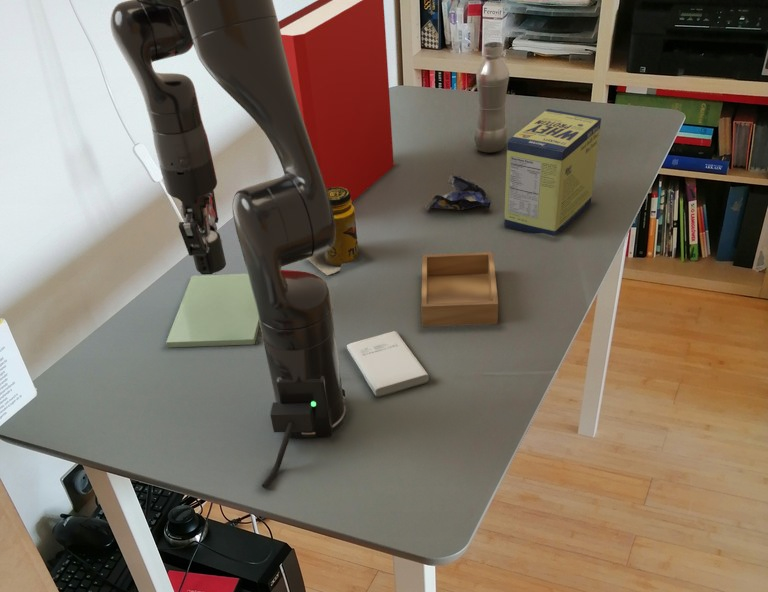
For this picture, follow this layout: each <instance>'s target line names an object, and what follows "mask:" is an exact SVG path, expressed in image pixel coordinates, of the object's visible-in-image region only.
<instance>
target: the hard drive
mask: <svg viewBox="0 0 768 592" xmlns="http://www.w3.org/2000/svg"><path fill="white" fill-rule="evenodd" d="M346 349H347V351H348V352H349V354H350V356H351V358H352V359H353V361H354V363H355V364H356V365H357V367H358V368H359V370H360V372H361V373H362V375H363V379H364V380H365V381H366V383H367V385H368V386H369V388H370V389H371V391H372V393H373V395H375V397H376V398H380V397H384V396H386V395H390V394H394V393H397V392H400V391H403V390H407V389H411V388H414V387H417V386H421V385H424V384H427V383H428V382H429V374H428V372H427V371H426V370H425V368H424V367H423V365H422V364H421V363H420V362H419V360H418V359H417V357H416V356H415V355H414V354H413V352H412V350H411V349H410V348H409V347H408V346H407V344H406V343H405V341H404V340H403V338H402V337H401V336H400V334H399V333H398V332H397V331H395V330H392V331H389V332H385V333H382V334H379V335H375V336H372V337H367V338H364V339H361V340H357V341H354V342H350V343H348V344H347V345H346Z"/></svg>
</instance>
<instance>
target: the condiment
mask: <svg viewBox="0 0 768 592" xmlns="http://www.w3.org/2000/svg"><path fill="white" fill-rule="evenodd" d="M327 193H328V196H329V199H330V202H331V206H332V210H333V214H334V220H335V227H336V238H335V242H334V245H333V246H332V248H331V249H330V250H328V251H326V252H323V253H321V254H318V255H315V256H312V257H309V258H306V259H305V260H307V261H308V262H309V263H310V264H311V265H313V266H314V267H315V268H316V269H318V270H319V271H320V272H321V273H323V274H325V275H326V276H330V275H332V274H335V273H337V272H340V271H341V268H342V264H346V263H350V262H352V261H354V260H355V259H357V257H358V256H359V244H358V243H359V242H358V241H359V240H358V234H357V222H356V213H355V206H354V205H353V204H352V203H353V201H351V194H350V191H349V190H347V189H346V188H343V187H331V188H327Z"/></svg>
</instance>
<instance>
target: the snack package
mask: <svg viewBox="0 0 768 592" xmlns="http://www.w3.org/2000/svg"><path fill="white" fill-rule="evenodd" d="M448 185H450V186H451V187H452V188H453V189H454V190H452V191H450V192H447V193H446V194H444V195H439V194H436V195H434V196H433V198H431V200H430V202H428V203H427V204H426V205H424V208H425V209H426V211H427V212H429V211H430V210H431V209H443V210H444V209H445V210H456V211H458V210H459V211H461V210H462V211H463V210H468V209H471V208H476V207H479V206H480V207H484V208H488V209H489V208H490V206H491V204H492V202H491V199H489V197H488V196H487V193H486V192H485V190H484V189H483V188H482V187H479V185H478V184H475V182H473V181H471V180H470V179H468V178H467V177H461V175H455V174H454V173H452V174H451V175H449V177H448ZM486 212H487V213H488V210H486Z"/></svg>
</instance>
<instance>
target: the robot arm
mask: <svg viewBox="0 0 768 592" xmlns="http://www.w3.org/2000/svg"><path fill="white" fill-rule="evenodd" d="M109 19H110V20H109V28H110V32H111V37H112V39H113V41H114V42H115V46H116V47H117V48H118V51H119V52H120V54H121V55H122V57H123V59H124V61H125V62H126V64H127V66H128V68H129V69H130V71H131V74H132V75H133V77H134V79H135V81H136V84H137V86H138V89H139V91H140V92H141V96H142V98H143V102H144V105H145V108H146V112H147V117H148V119H149V123H150V127H151V131H152V138H153V145H154V150H155V153H156V158H157V161H158V164H159V168H160V172H161V176H162V180H163V184H164V187H165V190H166V193H167V194H168V195H170V196H171V197H172V198H175V199H177V200H179V201H180V202H181V205H180V215H181V218H182V219H183V221H179V222H178V229H179V232H180V235H181V237H182V240H183V242H184V245H185V247H186V251H187V253H188V256H190V257H193V255H195V256H196V260H197V264H198V268H199V272H198V273H199V274H200V275H214V273H213V272H214V266H213V262H212V258H211V253H210V248H209V242H208V236H209V235H210V230H211V231H216V232H218V226H217V224H218V223H219V216H218V210H217V209H218V208H217V203H216V197H215V191H214V190H215V189H216V188H217V185H218V179H217V175H216V170H215V169H216V168H215V165H214V160H213V156H212V151H211V148H210V147H211V146H210V142H209V138H208V135H207V132H206V131H207V130H206V129H205V126H204V123H203V118H202V114H201V110H200V105H199V100H198V96H197V92H196V87H195V85H194V82H193V81H192V79H191V78H190V77H189V76H187V75H185V74H183V73H182V74H181V73H175V72H174V73H172V72H169V73H168V72H166V73H164V72H156V71H155V69H154V67H153V62H158V61H162V60H166V59H169V58H173V57H177V56H182V55H183V54H186V53H188V52H189V51H190V50H191V49H192V48H193V47H194V50H195V53H196V55H197V57H198V60H199V62H200V63H201V64H202V66H203V67H204V69H205V70H206V72H207V73H208V74H209V75H210V76H211V77H212V79H213V80H214V81H215V82H216V83H217V84H218V85H219V86H220V87H221V88H222V90H224V91H225V92H226V93H227V94H228V95H229V96H230V98H232V99H233V100H234V101H235V102H236V103H237V104H238V105H239V106H240V107H241V108H242V109H243V110H244V111H245V112H246V113H247V114H248V115H249V116H250V117H251V119H252V120H253V121H255V123H256V124H257V125H258V127H259V128H260V129H261V130H262V131H263V133H264V134H265V135H266V137H267V138H268V140H269V142H270V144H271V145H272V147H273V149H274V151H275V154H276V155H277V158H278V160H279V162H280V165H281V167H282V171H283V174H284V176H281V177H276V178H273V179H270V180H267V181H263V182H260V183H256V184H254V185H250V186H246V187H244V188H241V189H239V190H237V191H236V192H235V194H234V196H233V199H232V217H233V222H234V227H235V232H236V235H237V239H238V242H239V246H240V249H241V253H242V256H243V260H244V264H245V268H246V273H247V274H248V277H249V281H250V286H251V289H252V293H253V297H254V300H255V304H256V308H257V313H258V317H259V322H260V326H259V328H260V331H261V336H262V341H263V346H264V351H265V356H266V360H267V365H268V370H269V375H270V380H271V384H272V389H273V395H274V399H275V402H272V405H271V409H270V414H269V415H270V421H271V425H272V430H273V433H284V435H283V438H282V441H281V444H280V447H279V450H278V452H277V456H276V459H275V462H274V465H273V467H272V469H271V471H270V472H269V474H268V476H267V477H266V478H265V479H264V481H263V482H262V483H261V487H262V488H263V489H267V488H268V487H269V486H270V484H271V483H272V482H273V480H274V479H275V478H276V476H277V474H278V472H279V470H280V468H281V466H282V463H283V459H284V456H285V454H286V450H287V447H288V444H289V441H290V439H292V438H323V437H325V438H326V437H332V436H333V432H334V431H336V430H337V428H339V427H340V426H341V425H342V424H343V422H344V421H345V419H346V415H347V408H346V403H345V399H344V398H347V396H346V390H345V389H344V388H343V385H342V377H341V370H340V362H339V354H338V347H337V341H336V332H335V326H334V325H335V323H334V316H333V307H332V300H331V294H330V289H329V287H328V284H327V283H326V281H325V280H323V278H322V277H320V276H318V275H316V274H314V273H311V272H309V271H308V272H307V271H302V270H287V269H282V267H285V266H288V265H291V264H295V263H297V262H300V261H303V260H307V259H306V258H309V257H312V256H315V255H318V254H321V253H323V252H326V251H328V250H330V249H331V248H332V246H333V245H334V242H335V238H336V227H335V220H334V214H333V210H332V206H331V202H330V199H329V196H328V193H327V189H326V186H325V183H324V180H323V177H322V174H321V171H320V168H319V165H318V162H317V159H316V156H315V153H314V150H313V147H312V144H311V141H310V138H309V135H308V132H307V129H306V126H305V123H304V120H303V117H302V114H301V111H300V107H299V104H298V100H297V96H296V93H295V89H294V86H293V82H292V78H291V74H290V70H289V66H288V62H287V57H286V53H285V49H284V45H283V41H282V36H281V32H280V28H279V23H278V22H279V20H278V16H277V12H276V8H275V4H274V1H273V0H126V1H122V2H119V3H117V4H116V5H115V6H114V7H113V9H112V12H111V14H110V18H109ZM202 238H203V239H202ZM196 244H197V245H196Z"/></svg>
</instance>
